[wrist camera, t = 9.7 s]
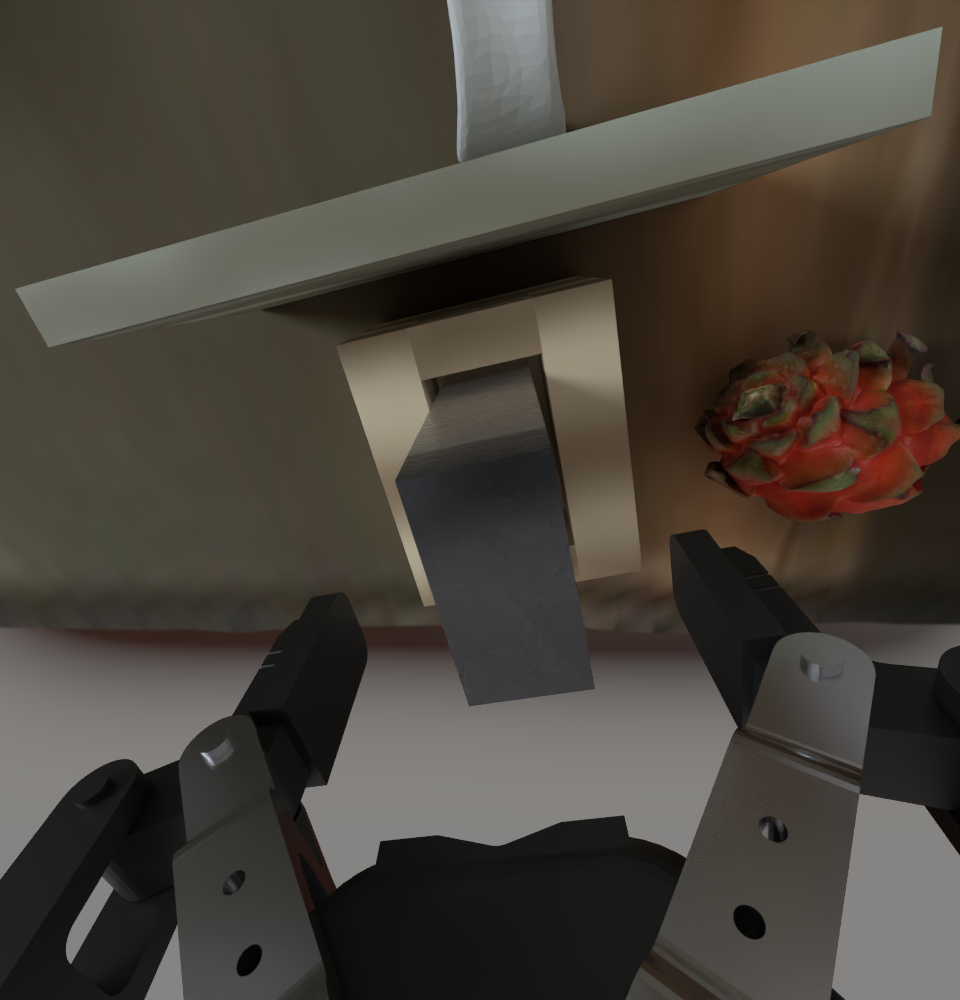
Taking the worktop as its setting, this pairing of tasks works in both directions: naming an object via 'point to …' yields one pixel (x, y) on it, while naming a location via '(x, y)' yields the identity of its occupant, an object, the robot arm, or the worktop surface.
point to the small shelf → (493, 225)
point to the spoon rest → (504, 75)
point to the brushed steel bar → (496, 537)
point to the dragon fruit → (828, 428)
